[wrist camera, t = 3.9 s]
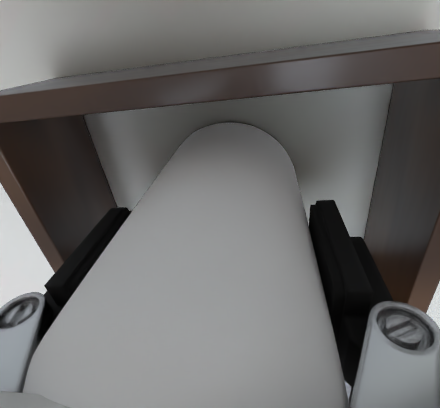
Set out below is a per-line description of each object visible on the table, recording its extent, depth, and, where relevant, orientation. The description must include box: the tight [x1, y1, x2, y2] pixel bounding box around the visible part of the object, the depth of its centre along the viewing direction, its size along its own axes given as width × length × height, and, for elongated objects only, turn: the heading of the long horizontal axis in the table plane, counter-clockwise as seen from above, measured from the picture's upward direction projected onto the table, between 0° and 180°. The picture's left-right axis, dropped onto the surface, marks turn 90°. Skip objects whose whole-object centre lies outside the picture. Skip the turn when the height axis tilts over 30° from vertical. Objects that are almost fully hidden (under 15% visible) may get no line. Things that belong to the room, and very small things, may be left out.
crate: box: [0, 30, 440, 313], centre depth 12 cm, size 12×16×5 cm
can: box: [23, 123, 350, 408], centre depth 9 cm, size 6×6×12 cm
